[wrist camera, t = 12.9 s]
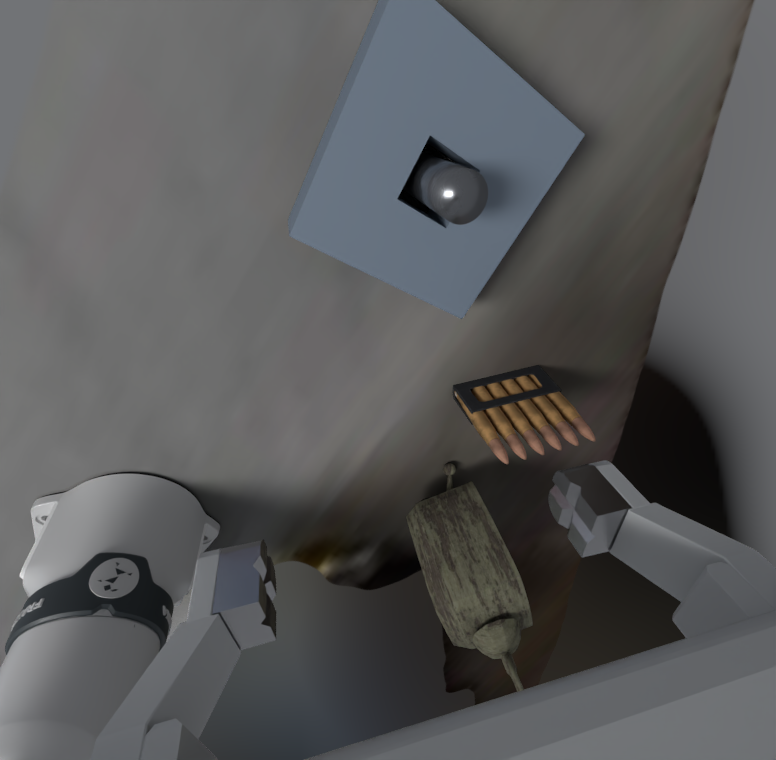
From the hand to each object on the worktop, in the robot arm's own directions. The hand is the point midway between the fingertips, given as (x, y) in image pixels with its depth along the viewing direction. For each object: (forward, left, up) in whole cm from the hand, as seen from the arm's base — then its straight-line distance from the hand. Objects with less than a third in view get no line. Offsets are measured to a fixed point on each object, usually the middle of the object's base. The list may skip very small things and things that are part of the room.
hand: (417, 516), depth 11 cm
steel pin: (+8, -5, -29) cm, 30 cm away
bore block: (+8, -5, -29) cm, 30 cm away
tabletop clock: (-25, -29, -29) cm, 48 cm away
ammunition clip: (-6, -25, -29) cm, 39 cm away
